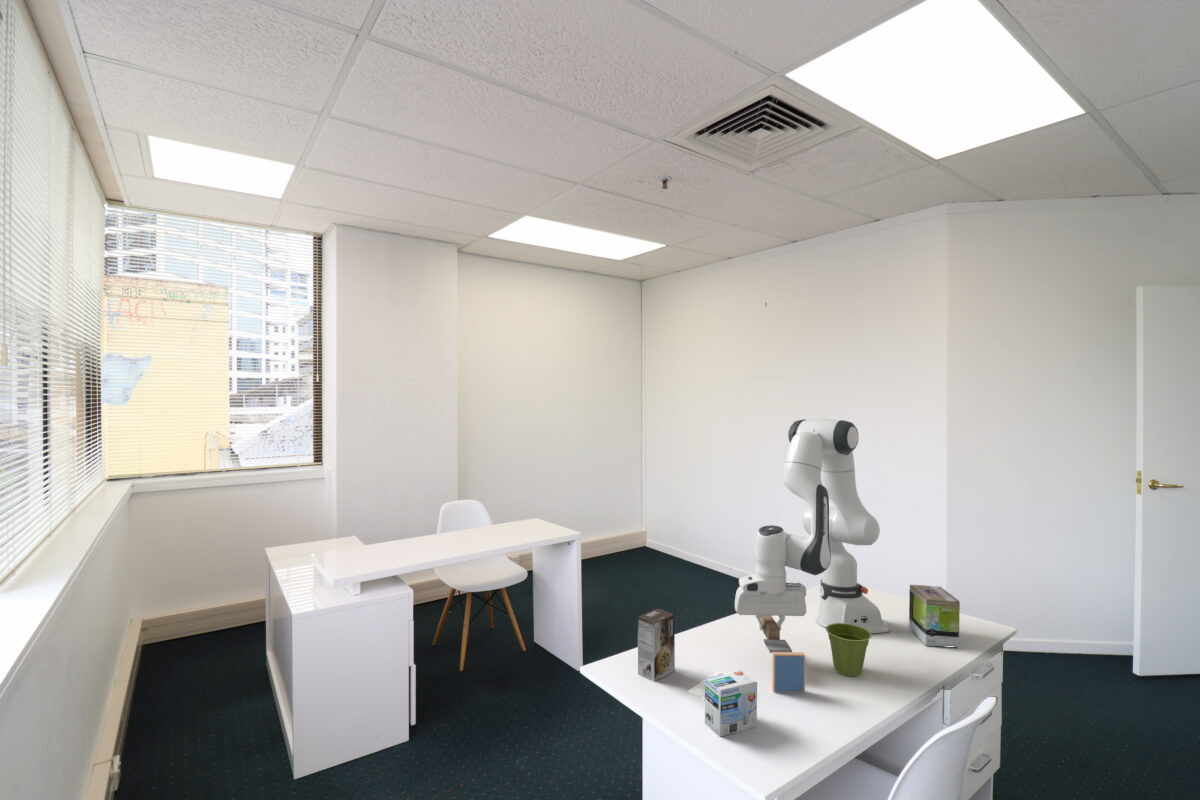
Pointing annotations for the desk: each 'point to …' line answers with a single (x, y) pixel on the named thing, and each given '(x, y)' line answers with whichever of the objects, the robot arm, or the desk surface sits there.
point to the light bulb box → (730, 702)
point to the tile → (788, 672)
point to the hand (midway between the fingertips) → (770, 629)
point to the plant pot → (848, 647)
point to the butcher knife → (701, 688)
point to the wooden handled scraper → (774, 636)
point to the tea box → (934, 615)
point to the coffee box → (656, 644)
